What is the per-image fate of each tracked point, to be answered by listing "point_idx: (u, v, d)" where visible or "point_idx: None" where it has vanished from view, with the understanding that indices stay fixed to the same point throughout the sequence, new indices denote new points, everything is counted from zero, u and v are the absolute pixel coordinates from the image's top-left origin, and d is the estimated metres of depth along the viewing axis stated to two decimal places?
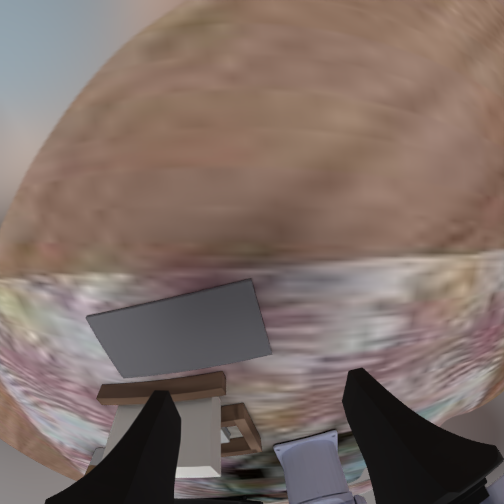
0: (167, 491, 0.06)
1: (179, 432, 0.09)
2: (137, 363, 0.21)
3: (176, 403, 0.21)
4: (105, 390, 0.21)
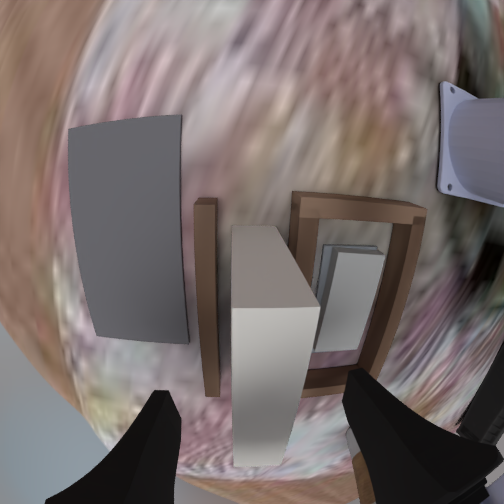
0: (167, 491, 0.06)
1: (179, 432, 0.09)
2: (159, 311, 0.16)
3: None
4: None
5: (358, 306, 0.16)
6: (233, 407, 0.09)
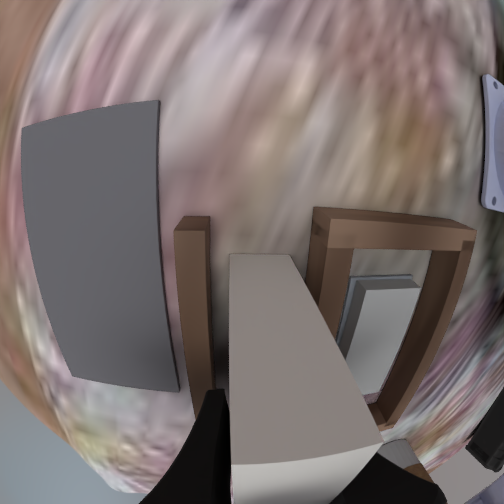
0: (227, 493, 0.06)
1: None
2: (141, 357, 0.12)
3: None
4: None
5: (385, 349, 0.12)
6: None
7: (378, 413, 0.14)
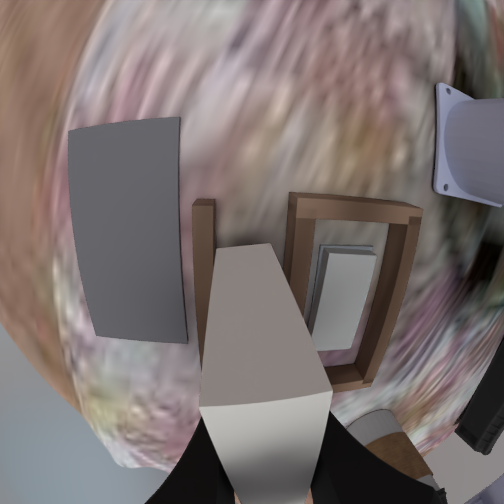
0: (231, 493, 0.06)
1: None
2: (158, 311, 0.16)
3: None
4: None
5: (350, 306, 0.16)
6: (232, 484, 0.06)
7: (356, 372, 0.19)
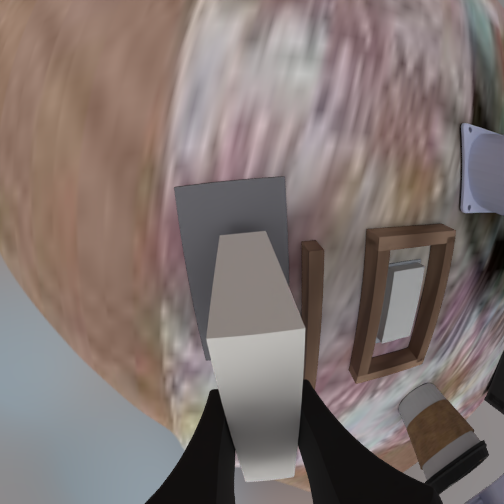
0: (231, 493, 0.06)
1: None
2: None
3: None
4: None
5: (409, 305, 0.20)
6: (230, 430, 0.08)
7: (411, 353, 0.22)
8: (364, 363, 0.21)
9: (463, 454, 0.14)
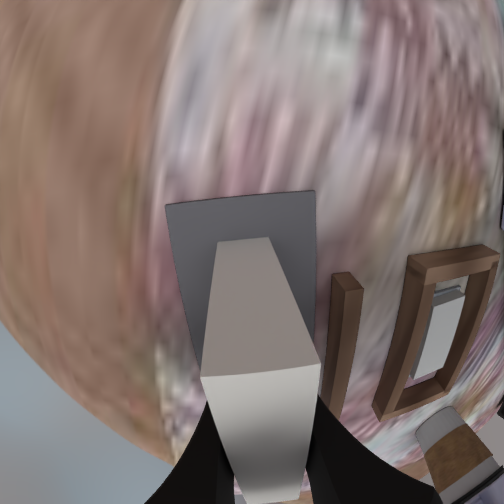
0: (231, 493, 0.06)
1: None
2: None
3: None
4: None
5: (445, 338, 0.16)
6: (231, 463, 0.06)
7: (437, 384, 0.18)
8: (391, 402, 0.16)
9: (482, 482, 0.10)
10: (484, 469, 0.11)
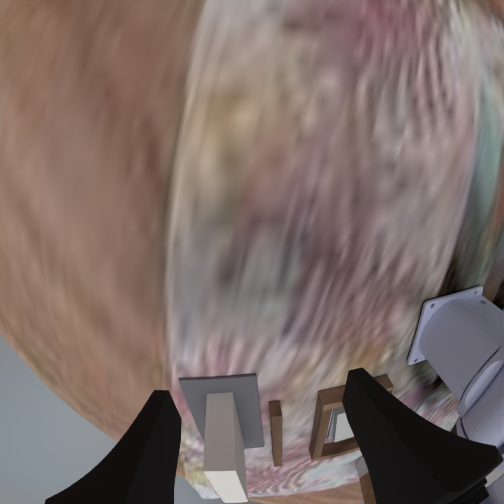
0: (167, 491, 0.06)
1: (179, 432, 0.09)
2: (248, 439, 0.26)
3: None
4: (273, 457, 0.28)
5: None
6: (214, 487, 0.16)
7: None
8: (316, 453, 0.26)
9: None
10: None
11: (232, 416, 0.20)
